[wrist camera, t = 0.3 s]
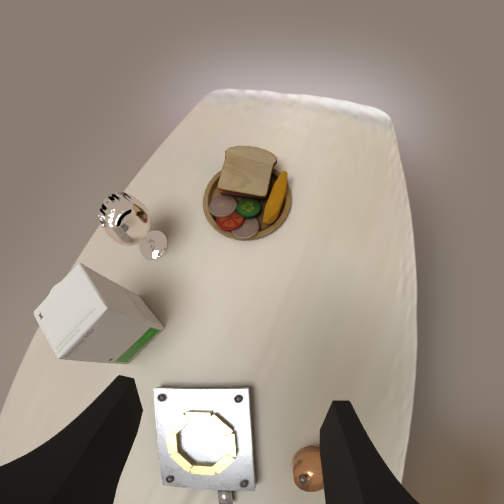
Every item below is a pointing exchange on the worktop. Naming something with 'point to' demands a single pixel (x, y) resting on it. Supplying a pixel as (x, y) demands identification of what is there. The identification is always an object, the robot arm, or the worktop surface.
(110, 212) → the wineglass
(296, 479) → the copper spout can
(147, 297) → the worktop surface
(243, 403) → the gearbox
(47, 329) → the skincare box
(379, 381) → the worktop surface
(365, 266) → the worktop surface
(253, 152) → the toy sandwich meal
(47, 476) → the robot arm
